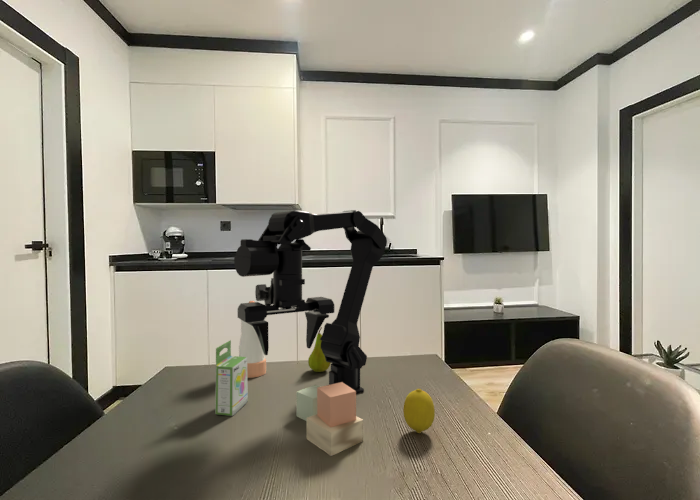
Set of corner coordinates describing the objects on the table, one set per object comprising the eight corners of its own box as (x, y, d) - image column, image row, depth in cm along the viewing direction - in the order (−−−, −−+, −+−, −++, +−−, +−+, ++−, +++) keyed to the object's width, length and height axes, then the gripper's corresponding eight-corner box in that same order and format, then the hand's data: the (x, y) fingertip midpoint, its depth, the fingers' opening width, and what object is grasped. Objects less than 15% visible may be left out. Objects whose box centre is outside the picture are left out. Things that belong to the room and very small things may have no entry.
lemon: (416, 443, 64) (416, 397, 64) (397, 429, 69) (397, 386, 69) (441, 436, 66) (441, 391, 66) (421, 423, 71) (421, 381, 71)
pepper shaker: (238, 369, 102) (238, 299, 101) (265, 367, 103) (265, 298, 103) (236, 379, 95) (236, 303, 94) (266, 376, 96) (266, 302, 96)
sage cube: (315, 408, 78) (315, 384, 78) (332, 416, 74) (332, 391, 74) (296, 416, 74) (296, 391, 74) (313, 424, 71) (313, 398, 71)
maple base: (337, 427, 70) (337, 406, 70) (363, 442, 65) (363, 419, 65) (306, 440, 65) (306, 417, 65) (331, 457, 60) (331, 432, 60)
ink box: (233, 416, 74) (233, 349, 74) (214, 415, 74) (214, 348, 74) (248, 402, 81) (248, 340, 81) (230, 401, 81) (230, 339, 81)
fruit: (315, 366, 105) (315, 323, 105) (335, 369, 102) (335, 325, 102) (303, 373, 99) (303, 328, 99) (324, 376, 96) (324, 330, 96)
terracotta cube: (342, 409, 69) (341, 382, 69) (356, 420, 64) (356, 391, 64) (317, 415, 66) (317, 387, 66) (330, 427, 62) (330, 397, 62)
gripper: (311, 269, 87) (311, 337, 87) (229, 273, 77) (230, 348, 77) (335, 272, 77) (335, 348, 78) (246, 276, 67) (246, 363, 68)
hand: (287, 351), depth 75 cm, fingers open, 9 cm apart
